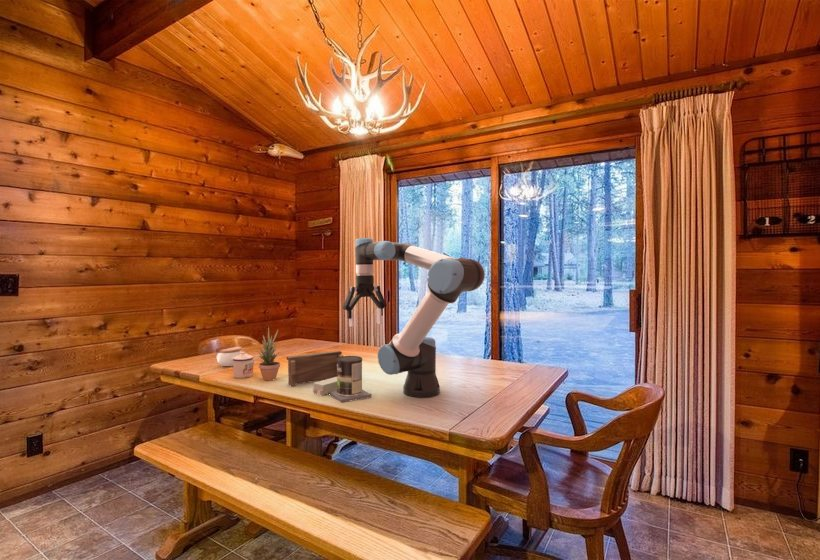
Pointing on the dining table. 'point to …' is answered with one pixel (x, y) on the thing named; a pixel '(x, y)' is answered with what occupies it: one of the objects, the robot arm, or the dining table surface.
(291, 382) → the walnut rack
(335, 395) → the slate mat
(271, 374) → the potted plant
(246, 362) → the teacup with lid
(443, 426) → the dining table surface
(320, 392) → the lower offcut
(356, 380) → the coffee can
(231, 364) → the lidded bowl
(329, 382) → the upper offcut
